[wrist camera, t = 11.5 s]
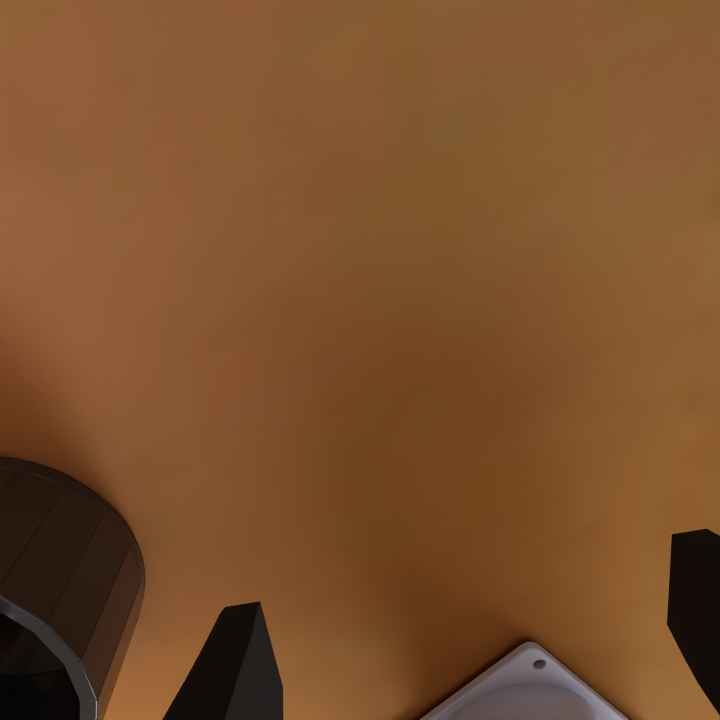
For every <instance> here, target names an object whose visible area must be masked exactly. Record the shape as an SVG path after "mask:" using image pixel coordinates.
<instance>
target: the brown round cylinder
mask: <svg viewBox="0 0 720 720" xmlns="http://www.w3.org/2000/svg"><path fill="white" fill-rule="evenodd" d="M144 591H145V569H144V565H143V560H142V556H141V553H140V550H139V548H138V545H137V543H136V540H135V538H134V537H133V535H132V533H131V531H130V530H129V528H128V526H127V525H126V524H125V522H124V521H123V520H122V519H121V517H120V516H119V515H118V513H117V512H116V511H115V510H114V509H113V508H112V507H111V506H110V505H109V504H108V503H107V502H106V501H104V500H103V499H102V498H101V497H99V496H98V495H97V494H96V493H94V492H93V491H92V490H90V489H89V488H87V487H86V486H84V485H82V484H81V483H79V482H78V481H76V480H74V479H72V478H70V477H68V476H66V475H64V474H62V473H60V472H58V471H55V470H52V469H50V468H47V467H44V466H41V465H38V464H34V463H30V462H26V461H22V460H18V459H10V458H3V457H0V613H2V614H4V615H5V616H7V617H9V618H10V619H12V620H14V621H15V622H17V623H19V624H20V625H22V626H24V629H23V631H22V633H21V635H20V636H19V638H18V640H17V642H16V643H15V645H14V647H13V649H12V651H11V652H10V654H9V656H8V658H7V660H6V661H5V663H4V665H3V667H2V668H1V670H0V720H103V718H104V715H105V713H106V710H107V707H108V704H109V701H110V698H111V695H112V692H113V690H114V687H115V684H116V681H117V678H118V675H119V672H120V669H121V667H122V664H123V661H124V658H125V655H126V652H127V649H128V647H129V644H130V641H131V638H132V635H133V632H134V629H135V626H136V624H137V621H138V618H139V615H140V608H141V605H142V601H143V598H144Z"/></svg>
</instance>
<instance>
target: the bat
mask: <svg viewBox="0 0 720 720" xmlns="http://www.w3.org/2000/svg"><path fill="white" fill-rule="evenodd" d="M23 629H24V626H22V625H20V624H19V623H17V622H15V621H14V620H12V619H10V618H9V617H7V616H5V615H4V614H2V613H0V670H1V668H2V667H3V665H4V663H5V661H6V660H7V658H8V656H9V654H10V652H11V651H12V649H13V647H14V645H15V643H16V642H17V640H18V638H19V636H20V635H21V633H22V631H23Z"/></svg>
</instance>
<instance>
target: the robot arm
mask: <svg viewBox="0 0 720 720" xmlns="http://www.w3.org/2000/svg"><path fill="white" fill-rule="evenodd" d="M667 625H668V627H669V629H670V631H671V633H672V635H673V637H674V639H675V641H676V643H677V645H678V647H679V649H680V651H681V653H682V655H683V656H684V658H685V660H686V662H687V664H688V666H689V667H690V669H691V671H692V673H693V675H694V677H695V678H696V680H697V682H698V684H699V685H700V687H701V688H702V690H703V691H704V693H705V694H706V696H707V697H708V699H709V700H710V702H711V703H712V705H713V706H714V708H715V709H716V711H717V712H718V714H719V715H720V536H719V535H717V534H715V533H714V532H712V531H710V530H708V529H702V530H696V531H690V532H684V533H678V534H672V543H671V562H670V580H669V599H668V617H667ZM536 660H538V661H536ZM162 720H283V686H282V682H281V678H280V675H279V671H278V667H277V663H276V660H275V656H274V652H273V648H272V645H271V641H270V637H269V633H268V630H267V626H266V622H265V618H264V614H263V611H262V607H261V603H260V601H259V602H253V603H247V604H241V605H235V606H229V607H225V608H224V609H223V610H222V612H221V613H220V615H219V617H218V619H217V621H216V623H215V625H214V627H213V629H212V631H211V633H210V634H209V636H208V638H207V640H206V642H205V644H204V646H203V648H202V650H201V652H200V654H199V656H198V657H197V659H196V661H195V663H194V665H193V667H192V669H191V670H190V672H189V674H188V676H187V678H186V680H185V681H184V683H183V685H182V687H181V688H180V690H179V692H178V693H177V695H176V697H175V699H174V700H173V702H172V704H171V706H170V707H169V709H168V711H167V712H166V714H165V716H164V718H163V719H162ZM420 720H629V719H628V718H627V717H625V716H624V715H623V714H622V713H621V712H619V711H618V710H617V709H616V708H615V707H613V706H612V705H611V704H610V703H609V702H607V701H606V700H605V699H604V698H603V697H601V696H600V695H599V694H598V693H597V692H595V691H594V690H593V689H592V688H591V687H589V686H588V685H587V684H586V683H585V682H583V681H582V680H581V679H580V678H579V677H577V676H576V675H575V674H574V673H573V672H571V671H570V670H569V669H568V668H567V667H565V666H564V665H563V664H562V663H561V662H559V661H558V660H557V659H556V658H555V657H553V656H552V655H551V654H550V653H549V652H547V651H546V650H545V649H544V648H542V647H541V646H540V645H539V644H537V643H535V642H525V643H523V644H521V645H520V646H519V647H517V648H516V649H515V650H513V651H512V652H511V653H509V654H508V655H506V656H505V657H504V658H502V659H501V660H500V661H498V662H497V663H496V664H494V665H493V666H491V667H490V668H489V669H487V670H486V671H485V672H483V673H482V674H481V675H479V676H478V677H477V678H475V679H474V680H472V681H471V682H470V683H468V684H467V685H466V686H464V687H463V688H462V689H460V690H459V691H458V692H456V693H455V694H453V695H452V696H451V697H449V698H448V699H447V700H445V701H444V702H443V703H441V704H440V705H439V706H437V707H436V708H434V709H433V710H432V711H430V712H429V713H428V714H426V715H425V716H424V717H422V718H421V719H420Z"/></svg>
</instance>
